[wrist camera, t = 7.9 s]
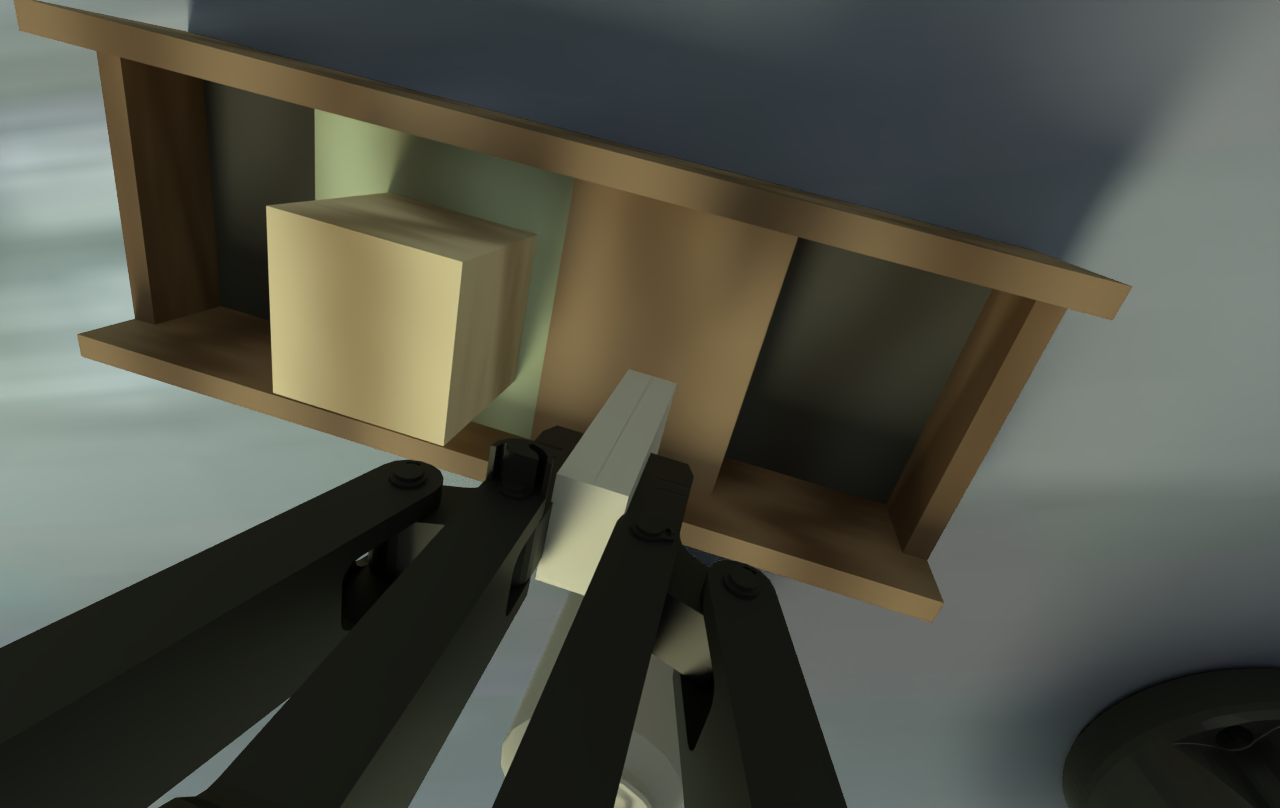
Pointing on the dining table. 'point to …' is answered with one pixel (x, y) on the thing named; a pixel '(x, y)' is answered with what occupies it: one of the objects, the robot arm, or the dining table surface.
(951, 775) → the dining table surface
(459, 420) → the maple block
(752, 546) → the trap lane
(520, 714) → the can
